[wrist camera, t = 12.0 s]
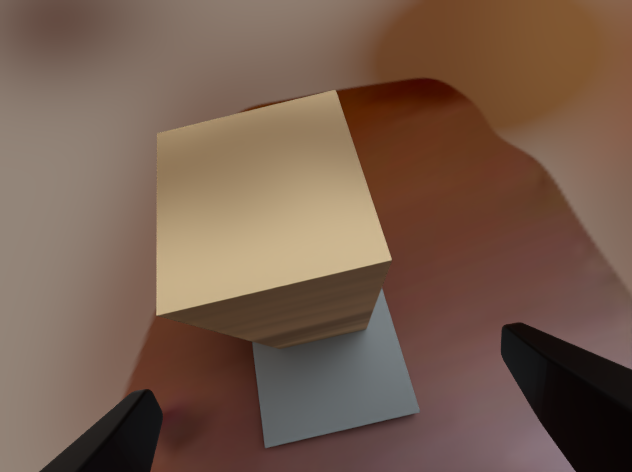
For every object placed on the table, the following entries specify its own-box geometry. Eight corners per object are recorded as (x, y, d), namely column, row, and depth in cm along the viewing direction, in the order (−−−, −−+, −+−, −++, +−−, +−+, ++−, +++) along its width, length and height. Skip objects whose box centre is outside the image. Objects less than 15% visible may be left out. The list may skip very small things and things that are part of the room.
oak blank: (366, 328, 17) (391, 260, 6) (279, 349, 17) (156, 315, 6) (344, 247, 19) (335, 89, 8) (267, 266, 19) (157, 133, 8)
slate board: (415, 409, 17) (420, 412, 16) (270, 442, 17) (264, 448, 16) (349, 191, 22) (349, 182, 21) (241, 218, 22) (235, 210, 21)
